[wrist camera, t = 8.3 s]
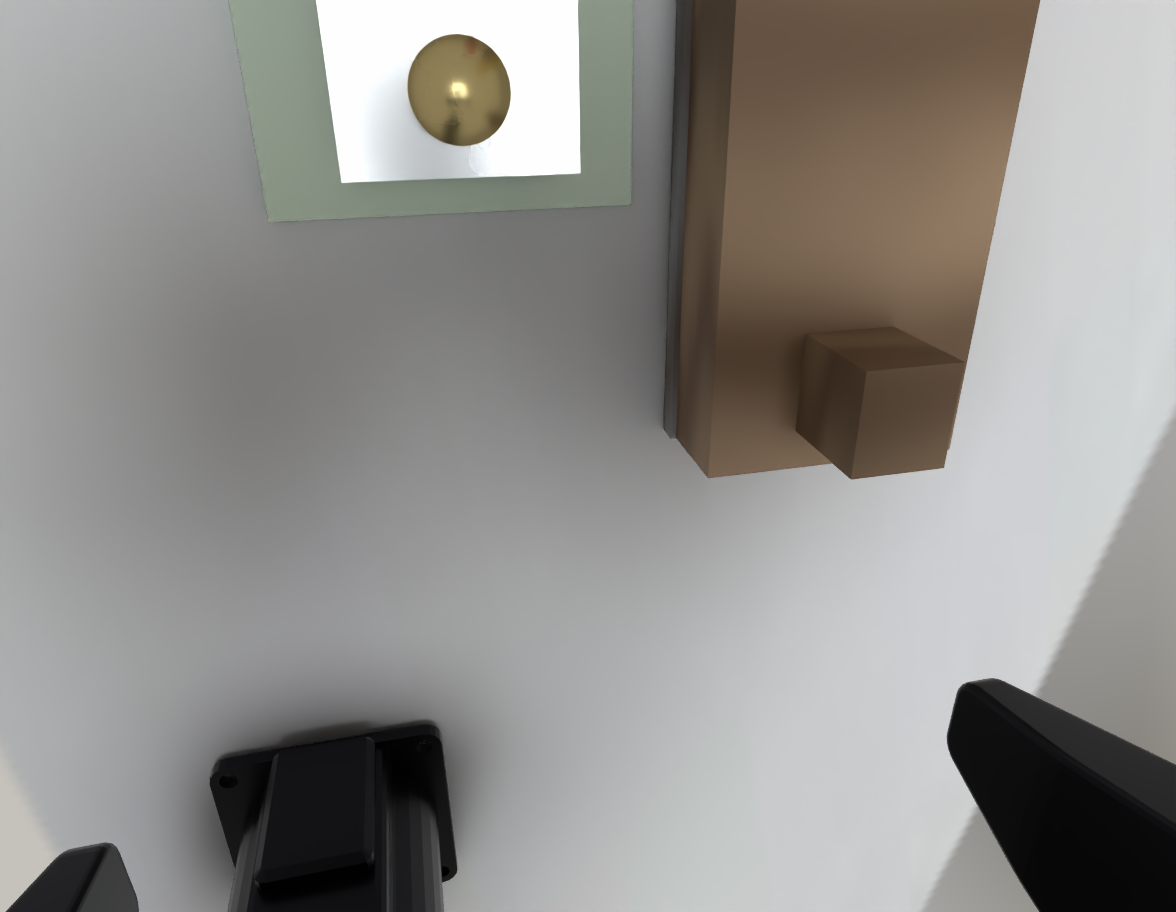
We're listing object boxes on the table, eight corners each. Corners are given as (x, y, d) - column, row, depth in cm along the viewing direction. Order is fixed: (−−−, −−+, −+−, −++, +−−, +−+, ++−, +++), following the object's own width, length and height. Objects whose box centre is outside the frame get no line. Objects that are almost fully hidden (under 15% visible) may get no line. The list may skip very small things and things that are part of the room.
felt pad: (626, 202, 19) (631, 204, 19) (271, 219, 17) (268, 222, 17) (629, -228, 15) (635, -234, 15) (185, -255, 14) (180, -264, 14)
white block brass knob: (556, 160, 18) (585, 176, 15) (347, 168, 17) (339, 186, 14) (546, -175, 15) (580, -227, 13) (299, -186, 14) (279, -244, 12)
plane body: (889, 405, 23) (1025, 496, 18) (663, 429, 22) (745, 533, 17) (1031, -470, 15) (1339, -729, 10) (693, -516, 14) (860, -836, 9)
